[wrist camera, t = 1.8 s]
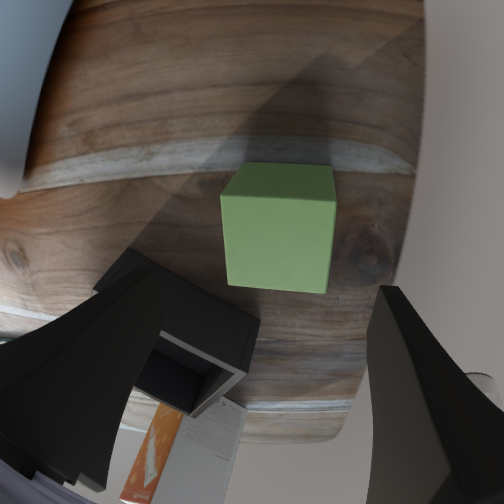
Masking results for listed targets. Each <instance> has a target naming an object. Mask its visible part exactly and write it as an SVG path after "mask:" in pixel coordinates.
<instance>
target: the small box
mask: <svg viewBox="0 0 504 504" xmlns="http://www.w3.org/2000/svg"><path fill="white" fill-rule="evenodd" d="M246 414H247V410H246V409H245V408H243V407H241V406H240V405H238V404H236V403H234V402H232V401H231V400H229V399H227V398H225V397H223V396H221V397H220V398H219V399H218V400H217V401H216V402H214V403H213V404H212V405H211V406H210V407H209V408H207V409H206V410H205V411H204V412H203V413H201V414H200V415H199V416H198V417H197V418H195V419H194V418H192V417H190V416H187V415H185V414H183V413H181V412H179V411H177V410H174V409H172V408H170V407H168V406H166V405H164V404H162V403H160V404H159V406H158V409H157V411H156V413H155V415H154V418H153V420H152V422H151V425H150V427H149V429H148V432H147V434H146V437H145V439H144V441H143V444H142V446H141V448H140V450H139V453H138V455H137V458H136V460H135V462H134V465H133V467H132V469H131V472H130V474H129V476H128V479H127V481H126V483H125V486H124V489H123V491H122V493H121V495H120V497H119V500H121V501H123V502H125V503H128V504H223V502H224V498H225V494H226V490H227V487H228V483H229V480H230V476H231V472H232V468H233V464H234V461H235V457H236V453H237V449H238V445H239V441H240V437H241V434H242V430H243V426H244V422H245V418H246Z"/></svg>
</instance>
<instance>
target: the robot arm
mask: <svg viewBox="0 0 504 504" xmlns="http://www.w3.org/2000/svg"><path fill="white" fill-rule="evenodd" d="M167 312H168V311H167V307H166V303H165V300H164V296H163V292H162V288H161V284H160V280H159V276H158V272H157V268H156V266H147V265H140V266H138V267H136V268H134V269H133V270H131V271H129V272H128V273H126V274H125V275H123V276H122V277H120V278H119V279H117V280H116V281H114V282H113V283H111V284H110V285H109V286H107V287H106V288H104V289H103V290H101V291H100V292H98V293H97V294H95V295H94V296H92V297H91V298H89V299H88V300H86V301H85V302H83V303H81V304H80V305H78V306H77V307H75V308H74V309H72V310H71V311H69V312H67V313H66V314H64V315H62V316H61V317H59V318H57V319H55V320H54V321H52V322H50V323H48V324H46V325H44V326H42V327H40V328H38V329H36V330H34V331H32V332H29V333H27V334H25V335H23V336H21V337H18V338H16V339H14V340H11V341H8V342H6V343H3V344H0V504H96V503H94V502H92V501H89V500H88V499H86V498H84V497H82V496H80V495H78V494H76V493H74V492H73V491H71V490H69V489H67V488H65V487H64V486H63V483H64V482H67V483H69V484H71V485H73V486H74V485H75V484H76V483H78V484H80V485H82V486H84V487H86V488H88V489H90V490H92V491H94V492H102V491H104V490H105V489H106V484H107V477H108V470H109V465H110V460H111V455H112V451H113V447H114V443H115V439H116V435H117V431H118V428H119V425H120V422H121V418H122V415H123V412H124V409H125V407H126V404H127V401H128V398H129V395H130V393H131V391H132V389H133V386H134V384H135V382H136V380H137V378H138V376H139V374H140V372H141V370H142V369H143V367H144V365H145V363H146V361H147V359H148V357H149V355H150V353H151V351H152V349H153V347H154V345H155V343H156V341H157V339H158V337H159V335H160V332H161V329H162V327H163V324H164V321H165V318H166V315H167ZM367 364H368V373H369V382H370V391H371V402H372V412H373V448H372V462H371V471H370V481H369V488H368V494H367V501H366V504H504V412H503V411H502V410H501V409H500V408H498V407H497V406H496V405H495V404H494V403H493V402H492V401H491V400H490V399H489V398H488V397H487V396H486V395H485V394H484V393H483V392H482V391H481V390H480V389H479V388H478V387H477V386H476V385H475V384H474V383H473V382H472V381H471V380H470V379H469V378H468V377H467V376H466V374H465V373H464V372H463V371H462V370H461V369H460V368H459V367H458V366H457V364H456V363H455V362H454V361H453V360H452V358H451V357H450V356H449V355H448V353H447V352H446V351H445V350H444V348H443V347H442V346H441V345H440V343H439V342H438V341H437V339H436V338H435V337H434V336H433V334H432V333H431V331H430V330H429V329H428V327H427V326H426V325H425V323H424V322H423V320H422V319H421V318H420V316H419V315H418V313H417V312H416V311H415V309H414V308H413V306H412V305H411V304H410V302H409V301H408V299H407V298H406V296H405V295H404V294H403V292H402V291H401V290H400V288H399V287H398V286H385V285H380V286H379V290H378V294H377V298H376V301H375V305H374V309H373V312H372V316H371V319H370V323H369V326H368V329H367Z"/></svg>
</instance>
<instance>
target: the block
mask: <svg viewBox="0 0 504 504" xmlns="http://www.w3.org/2000/svg"><path fill="white" fill-rule="evenodd" d="M220 199H221V211H222V223H223V235H224V246H225V257H226V268H227V279H228V284H229V285H233V286H243V287H254V288H265V289H276V290H288V291H300V292H312V293H326V291H327V285H328V278H329V270H330V262H331V254H332V246H333V237H334V228H335V219H336V208H337V197H336V190H335V183H334V177H333V170H332V166H325V165H310V164H292V163H267V162H244V163H243V164H242V165H241V167H240V168H239V170H238V171H237V172H236V174H235V175H234V176H233V178H232V179H231V180H230V182H229V183H228V185H227V186H226V187H225V189H224V190H223V192H222V193H221V195H220Z"/></svg>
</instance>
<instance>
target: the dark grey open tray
mask: <svg viewBox="0 0 504 504" xmlns="http://www.w3.org/2000/svg"><path fill="white" fill-rule="evenodd" d="M140 265H147V266H156V268H157V272H158V276H159V280H160V284H161V288H162V292H163V296H164V300H165V303H166V307H167V311H168V312H167V315H166V318H165V321H164V324H163V327H162V329H161V332H160V335H159V337H158V339H157V341H156V343H155V345H154V347H153V349H152V351H151V353H150V355H149V357H148V359H147V361H146V363H145V365H144V367H143V369H142V370H141V372H140V374H139V376H138V378H137V380H136V382H135V384H134V386H133V389H135V390H137V391H139V392H141V393H143V394H144V395H146V396H148V397H150V398H152V399H154V400H156V401H158V402H160V403H162V404H164V405H166V406H168V407H170V408H172V409H174V410H177V411H179V412H181V413H183V414H185V415H187V416H190V417H192V418H194V419H195V418H197V417H198V416H199V415H200V414H201V413H203V412H204V411H205V410H206V409H207V408H209V407H210V406H211V405H212V404H213V403H214V402H216V401H217V400H218V399H219V398H220V397H221V396H223V395H224V394H225V393H226V392H227V391H228V390H230V389H231V388H232V387H233V386H234V385H235V384H236V383H238V382H239V381H240V380H241V379H242V378H243V377H244V376H245V375H247V374H248V371H249V366H250V362H251V358H252V354H253V350H254V346H255V342H256V338H257V334H258V330H259V326H260V320H258V319H256V318H254V317H252V316H250V315H248V314H246V313H244V312H242V311H241V310H239V309H237V308H235V307H233V306H231V305H229V304H227V303H226V302H224V301H222V300H220V299H218V298H216V297H215V296H213V295H211V294H209V293H207V292H205V291H204V290H202V289H200V288H198V287H196V286H195V285H193V284H191V283H189V282H187V281H186V280H184V279H182V278H180V277H179V276H177V275H175V274H173V273H172V272H170V271H168V270H166V269H165V268H163V267H161V266H160V265H158V264H156V263H154V262H153V261H151V260H149V259H148V258H146V257H144V256H142V255H141V254H139V253H137V252H136V251H134V250H132V249H131V248H129V247H128V248H127V249H126V250H125V251H124V252H123V253H122V255H121V256H120V257H119V258H118V259H117V260H116V261H115V263H114V264H113V265H112V266H111V267H110V268H109V270H108V271H107V272H106V273H105V274H104V275H103V277H102V278H101V279H100V280H99V281H98V282H97V284H96V285H95V286H94V287H93V290H92V295H91V297H92V296H94V295H95V294H97V293H98V292H100V291H101V290H103V289H104V288H106V287H107V286H109V285H110V284H111V283H113V282H114V281H116V280H117V279H119V278H120V277H122V276H123V275H125V274H126V273H128V272H129V271H131V270H133V269H134V268H136V267H138V266H140Z"/></svg>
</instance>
